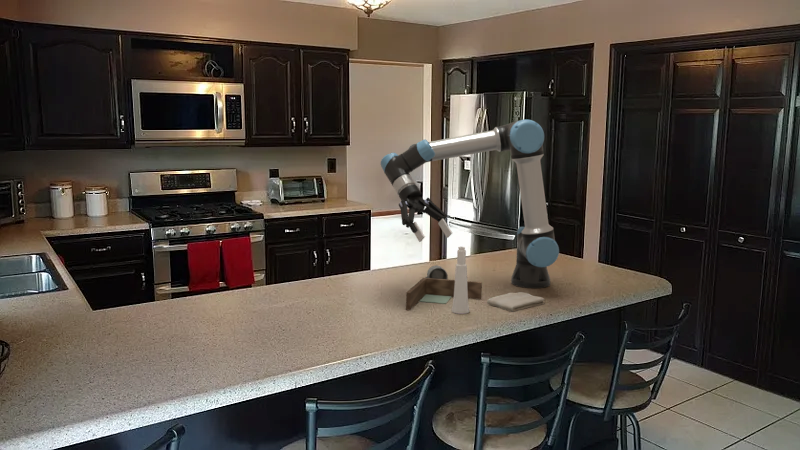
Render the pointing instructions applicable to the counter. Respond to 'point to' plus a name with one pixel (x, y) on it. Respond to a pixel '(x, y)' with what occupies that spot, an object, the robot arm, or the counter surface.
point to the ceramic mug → (437, 273)
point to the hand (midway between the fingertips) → (436, 237)
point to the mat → (435, 299)
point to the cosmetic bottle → (460, 284)
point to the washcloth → (515, 301)
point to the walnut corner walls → (439, 290)
